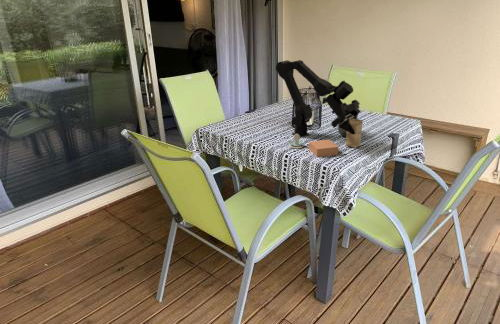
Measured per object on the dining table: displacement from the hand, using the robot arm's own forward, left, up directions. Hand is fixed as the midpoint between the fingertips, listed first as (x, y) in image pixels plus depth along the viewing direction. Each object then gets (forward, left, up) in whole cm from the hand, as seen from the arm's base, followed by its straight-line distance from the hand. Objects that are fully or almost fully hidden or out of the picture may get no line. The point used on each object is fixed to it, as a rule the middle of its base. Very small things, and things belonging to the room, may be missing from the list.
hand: (357, 132), depth 170 cm
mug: (-15, +10, -7) cm, 20 cm away
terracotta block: (-4, -16, -7) cm, 19 cm away
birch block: (-1, 0, -7) cm, 7 cm away
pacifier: (-17, -22, -7) cm, 29 cm away
